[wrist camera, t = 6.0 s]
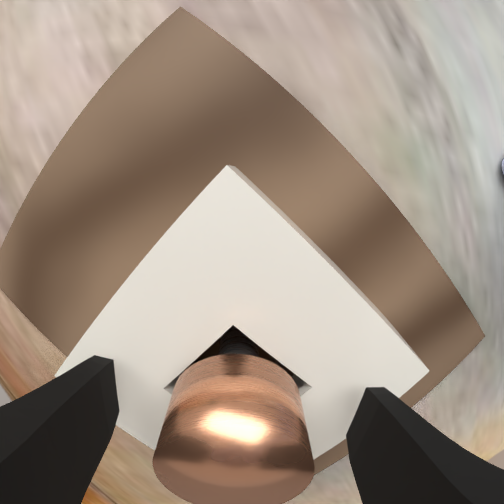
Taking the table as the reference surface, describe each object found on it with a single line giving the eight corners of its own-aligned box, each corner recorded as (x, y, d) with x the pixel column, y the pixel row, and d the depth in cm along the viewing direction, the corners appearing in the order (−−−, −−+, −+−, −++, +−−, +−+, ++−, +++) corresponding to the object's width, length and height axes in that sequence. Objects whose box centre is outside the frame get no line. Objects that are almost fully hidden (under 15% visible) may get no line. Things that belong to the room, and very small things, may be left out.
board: (481, 332, 15) (485, 335, 14) (280, 488, 17) (281, 492, 17) (182, 10, 11) (180, 6, 10) (-7, 272, 13) (-11, 274, 13)
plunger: (302, 325, 13) (346, 468, 6) (242, 377, 14) (239, 522, 7) (237, 268, 12) (224, 396, 5) (178, 328, 13) (124, 467, 6)
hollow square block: (383, 314, 14) (429, 370, 9) (245, 427, 15) (244, 497, 11) (235, 166, 12) (226, 164, 7) (101, 320, 14) (54, 375, 9)
